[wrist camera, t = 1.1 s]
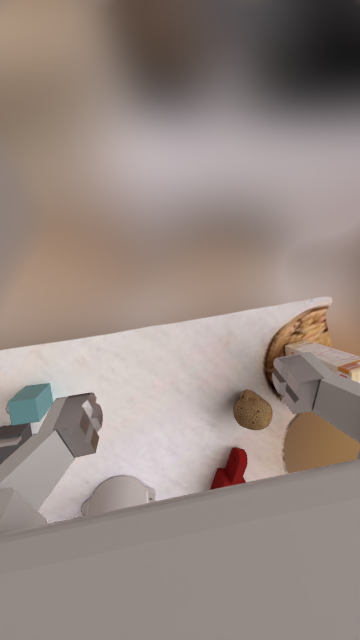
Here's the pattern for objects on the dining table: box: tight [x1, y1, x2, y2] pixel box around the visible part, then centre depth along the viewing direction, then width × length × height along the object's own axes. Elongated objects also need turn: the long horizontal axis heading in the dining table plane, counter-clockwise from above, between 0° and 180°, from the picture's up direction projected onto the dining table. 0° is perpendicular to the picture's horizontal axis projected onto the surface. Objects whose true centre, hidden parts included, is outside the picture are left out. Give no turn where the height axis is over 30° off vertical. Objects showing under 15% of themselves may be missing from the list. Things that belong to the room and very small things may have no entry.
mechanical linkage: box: [211, 448, 247, 490], centre depth 60 cm, size 16×7×5 cm, turn 163°
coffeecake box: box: [285, 340, 360, 383], centre depth 52 cm, size 15×7×20 cm, turn 12°
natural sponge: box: [233, 389, 272, 430], centre depth 55 cm, size 9×9×10 cm
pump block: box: [6, 383, 53, 425], centre depth 46 cm, size 5×6×7 cm
